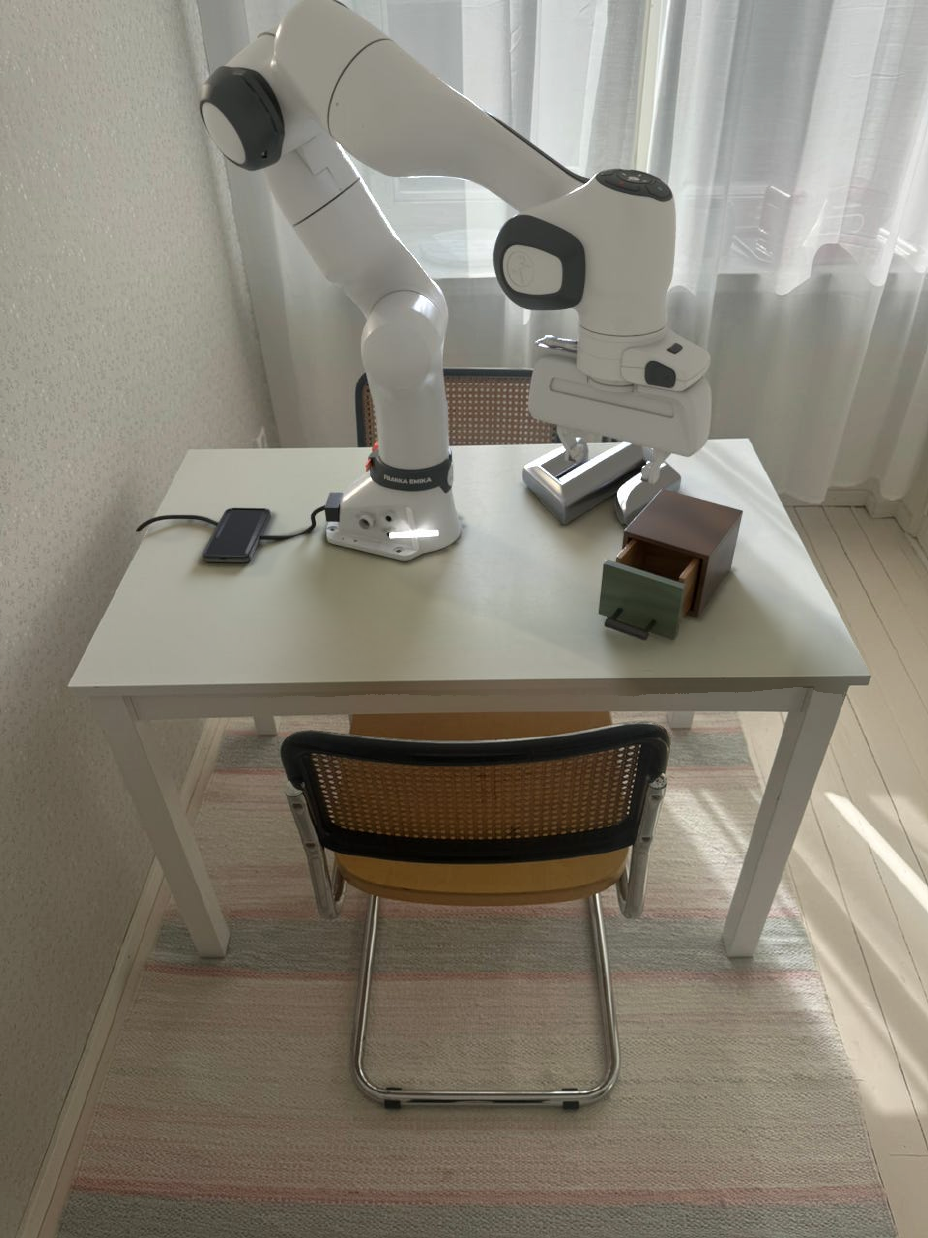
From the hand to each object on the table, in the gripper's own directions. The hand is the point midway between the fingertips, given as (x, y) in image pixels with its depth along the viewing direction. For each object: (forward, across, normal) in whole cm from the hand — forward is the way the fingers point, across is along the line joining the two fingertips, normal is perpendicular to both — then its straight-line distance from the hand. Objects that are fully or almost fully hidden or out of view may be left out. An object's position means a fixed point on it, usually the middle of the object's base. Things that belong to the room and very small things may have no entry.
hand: (610, 470), depth 94 cm
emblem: (+29, -22, +43) cm, 56 cm away
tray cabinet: (+29, +1, +24) cm, 38 cm away
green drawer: (+28, +1, +14) cm, 32 cm away
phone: (+28, -64, -4) cm, 70 cm away
